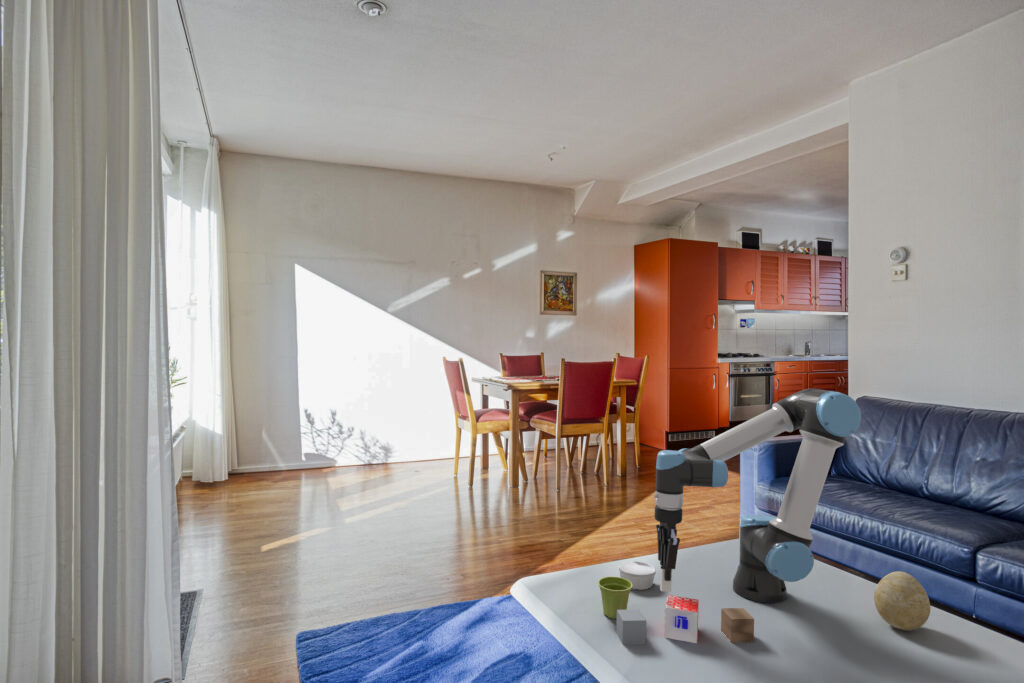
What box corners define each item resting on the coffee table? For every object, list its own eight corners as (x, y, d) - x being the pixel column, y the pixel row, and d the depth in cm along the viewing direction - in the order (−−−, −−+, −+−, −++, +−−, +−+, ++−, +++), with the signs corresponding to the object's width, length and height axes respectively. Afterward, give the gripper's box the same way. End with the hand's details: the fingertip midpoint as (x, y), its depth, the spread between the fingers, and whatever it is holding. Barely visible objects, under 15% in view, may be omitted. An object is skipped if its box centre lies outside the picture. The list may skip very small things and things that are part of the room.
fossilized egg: (880, 612, 170) (882, 559, 170) (934, 628, 161) (935, 573, 161) (867, 626, 161) (868, 571, 161) (923, 645, 152) (925, 586, 152)
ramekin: (660, 582, 188) (660, 565, 188) (648, 595, 179) (648, 577, 179) (626, 574, 194) (626, 558, 194) (613, 586, 185) (613, 569, 185)
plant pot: (631, 624, 160) (632, 591, 160) (596, 620, 162) (597, 588, 162) (631, 608, 169) (632, 578, 169) (598, 605, 171) (599, 575, 171)
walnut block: (742, 630, 158) (743, 608, 158) (753, 642, 152) (754, 618, 152) (720, 630, 158) (721, 608, 157) (730, 642, 152) (731, 619, 152)
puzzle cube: (698, 629, 158) (698, 599, 158) (697, 643, 151) (697, 612, 151) (666, 624, 161) (667, 594, 161) (664, 637, 153) (665, 607, 153)
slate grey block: (639, 632, 156) (639, 609, 156) (645, 644, 150) (646, 620, 150) (616, 632, 156) (616, 609, 155) (622, 644, 150) (622, 620, 149)
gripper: (648, 500, 174) (645, 580, 174) (663, 513, 161) (659, 600, 161) (673, 500, 174) (670, 580, 174) (690, 513, 161) (687, 600, 161)
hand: (665, 590), depth 168 cm, fingers closed
